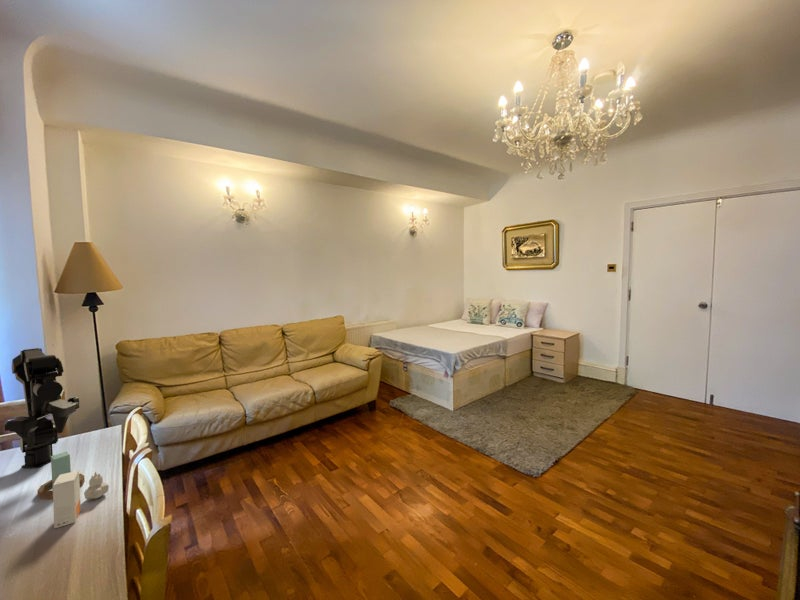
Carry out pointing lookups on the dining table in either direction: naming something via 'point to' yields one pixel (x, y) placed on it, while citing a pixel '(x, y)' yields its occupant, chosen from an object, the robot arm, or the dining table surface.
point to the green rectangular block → (60, 465)
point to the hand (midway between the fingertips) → (46, 439)
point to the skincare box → (66, 499)
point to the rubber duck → (96, 487)
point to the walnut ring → (49, 494)
